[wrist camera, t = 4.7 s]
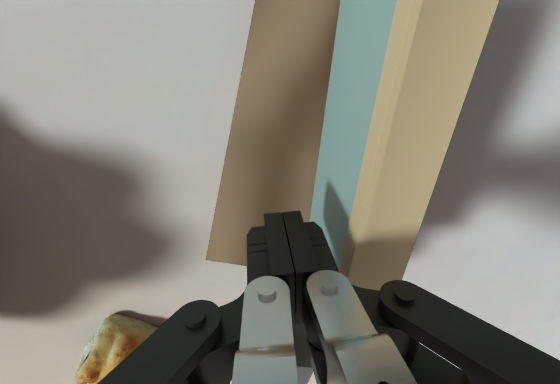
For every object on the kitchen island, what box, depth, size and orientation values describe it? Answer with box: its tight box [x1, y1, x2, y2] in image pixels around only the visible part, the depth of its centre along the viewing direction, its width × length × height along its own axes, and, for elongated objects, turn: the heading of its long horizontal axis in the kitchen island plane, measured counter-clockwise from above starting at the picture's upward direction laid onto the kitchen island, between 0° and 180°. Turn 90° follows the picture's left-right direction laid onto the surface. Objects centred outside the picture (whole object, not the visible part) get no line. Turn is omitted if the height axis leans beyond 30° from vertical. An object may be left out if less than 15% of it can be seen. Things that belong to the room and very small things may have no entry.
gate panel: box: [309, 0, 499, 291], centre depth 13 cm, size 2×14×8 cm, turn 176°
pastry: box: [75, 314, 158, 384], centre depth 25 cm, size 9×7×4 cm
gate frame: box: [206, 0, 340, 384], centre depth 13 cm, size 8×21×10 cm, turn 165°
